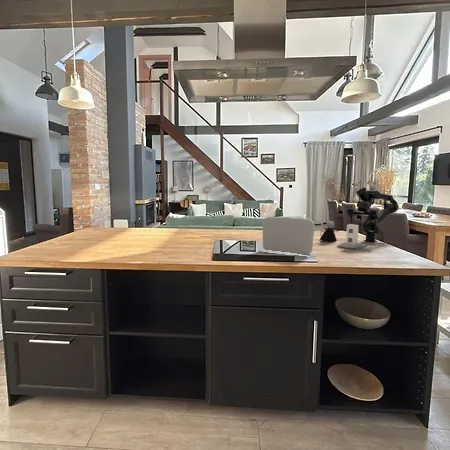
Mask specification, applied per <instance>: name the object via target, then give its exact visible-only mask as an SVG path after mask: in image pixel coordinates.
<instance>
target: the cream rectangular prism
mask: <svg viewBox="0 0 450 450" xmlns="http://www.w3.org/2000/svg"><path fill="white" fill-rule="evenodd" d="M345 236H346V238H345V242H346V244H350V245H357V243H358V241H359V239H358V237H359V224H353V223H350V224H346V235H345Z"/></svg>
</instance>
